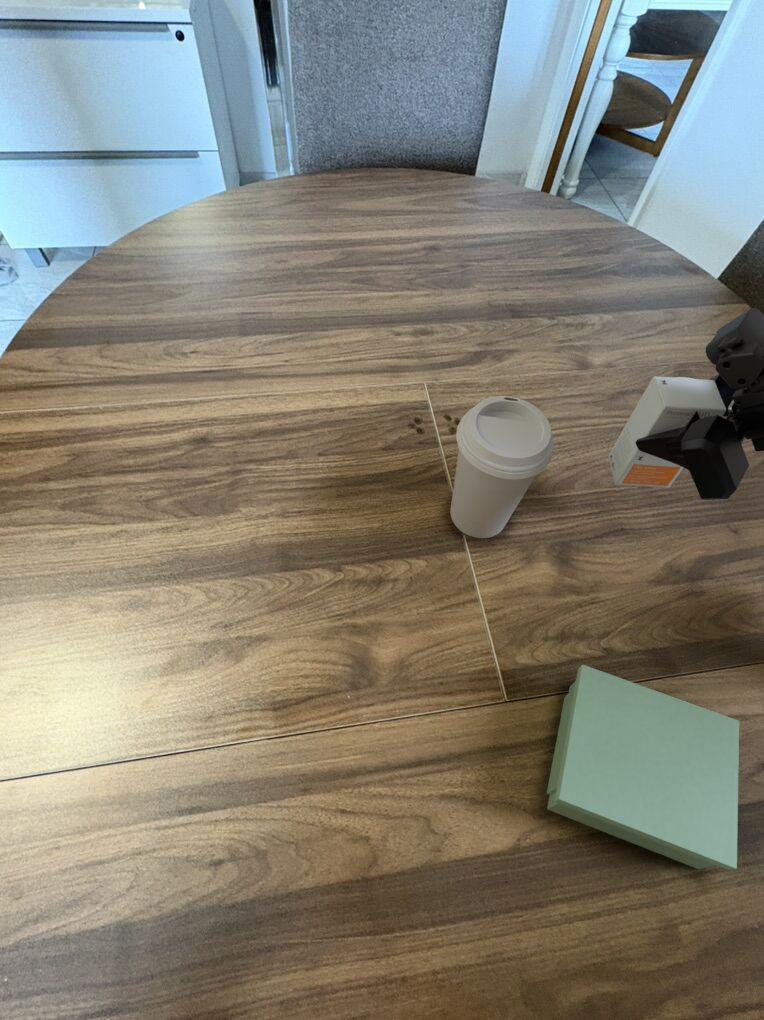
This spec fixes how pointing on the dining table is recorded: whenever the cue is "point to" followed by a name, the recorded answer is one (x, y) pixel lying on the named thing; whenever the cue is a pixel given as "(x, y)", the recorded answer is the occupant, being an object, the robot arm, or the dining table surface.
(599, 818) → the stand
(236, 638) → the dining table surface
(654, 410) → the cosmetic box
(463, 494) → the coffee cup
